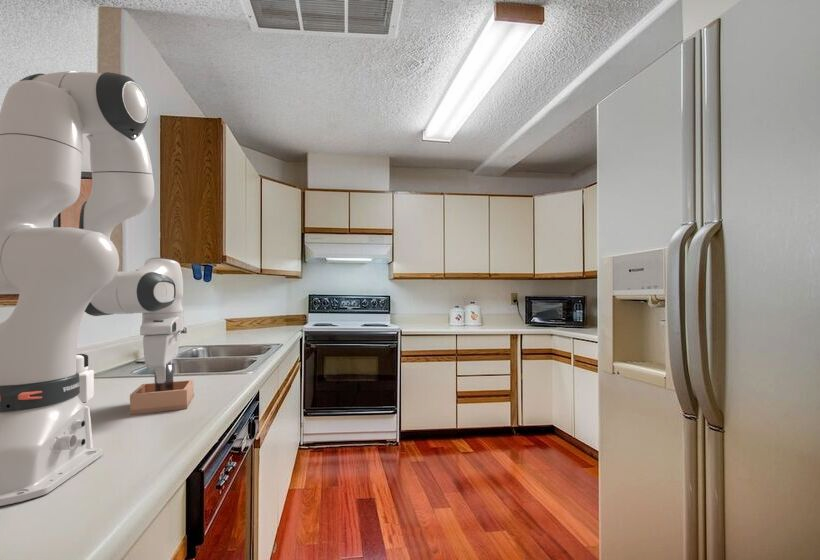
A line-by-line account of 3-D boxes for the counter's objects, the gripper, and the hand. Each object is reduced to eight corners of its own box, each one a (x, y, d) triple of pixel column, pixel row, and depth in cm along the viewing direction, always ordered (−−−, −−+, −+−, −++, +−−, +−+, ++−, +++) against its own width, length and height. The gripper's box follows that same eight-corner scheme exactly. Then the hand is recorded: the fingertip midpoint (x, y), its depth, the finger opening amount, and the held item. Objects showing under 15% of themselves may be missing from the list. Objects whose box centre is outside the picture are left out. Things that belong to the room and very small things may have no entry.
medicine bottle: (61, 399, 110) (60, 353, 110) (94, 396, 113) (94, 351, 113) (51, 406, 104) (51, 357, 104) (87, 402, 107) (86, 355, 107)
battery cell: (171, 396, 102) (171, 363, 102) (152, 397, 101) (152, 364, 101) (174, 392, 106) (174, 360, 106) (156, 393, 104) (156, 361, 105)
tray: (186, 408, 100) (186, 389, 100) (130, 414, 96) (129, 394, 96) (193, 396, 111) (193, 379, 111) (142, 401, 107) (142, 383, 107)
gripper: (158, 321, 112) (158, 373, 112) (137, 328, 93) (138, 390, 93) (184, 320, 114) (184, 371, 114) (170, 327, 95) (170, 388, 95)
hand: (163, 380), depth 103 cm, fingers closed on battery cell, 4 cm apart
